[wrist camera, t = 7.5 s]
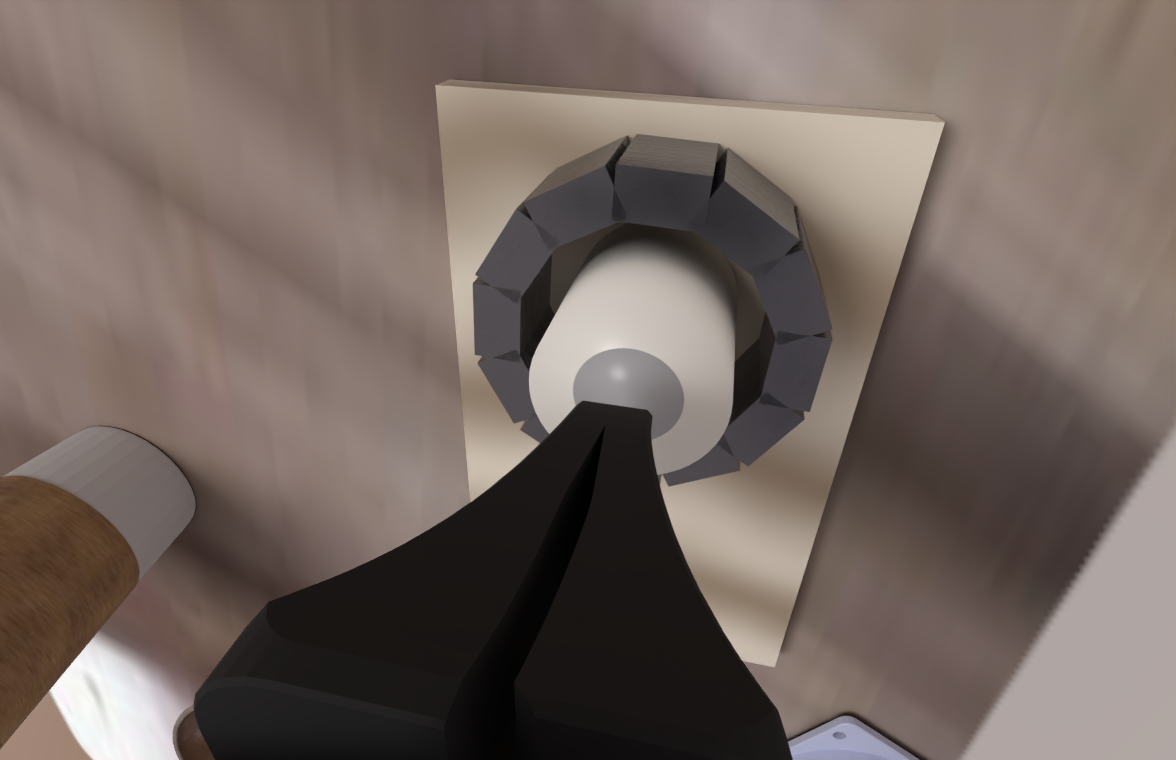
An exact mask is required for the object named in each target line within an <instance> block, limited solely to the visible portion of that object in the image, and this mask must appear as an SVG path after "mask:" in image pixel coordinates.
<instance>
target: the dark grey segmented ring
mask: <svg viewBox="0 0 1176 760" xmlns="http://www.w3.org/2000/svg"><path fill="white" fill-rule="evenodd" d="M718 145H719V143H711V142H702V141H694V140H685V139H677V138H669V137H660V136H652V135H643V134H636V136H635V137H634V138H633V140H632V141H631V143H630V141H629V139H628V136H624V137H622V138H620V139H618V140H616V141H614V142H611V143H609V144H607V145H605V146H603V147H601V148H598V149H596V150H594V151H592V152H590V153H588V154H586V155H583V156H581V157H579V158H577V159H575V160H573V161H570V162H568V163H566V164H564V165H562V166H560V167H557V168H556V169H555V170H554V171H553V172H552V173H551V174H549V175H548V176H547V177H546V178H545V179H544V181H543V182H542V183H541V184H540V185H539V186H538V187H537V188H536V189H535V190H534V191H533V192H532V193H531V194H530V195H529V196H528V197H527V198H526V199H525V200H524V201H523V202H522V203H521V204H520V205H519V206H518V207H517V208H516V210H515V211H514V213H513V214H512V216H511V218H510V219H509V221H508V222H507V224H506V226H505V227H504V229H503V230H502V232H501V234H500V235H499V237H498V238H497V240H496V242H495V243H494V245H493V246H492V248H491V250H490V251H489V253H488V254H487V256H486V258H485V259H484V261H483V262H482V264H481V266H480V267H479V269H478V270H477V272H476V274H475V275H476V276H477V277H478V278H477V279H476V280H475V281H474V282H473V316H474V349H475V355H478V356H482V357H481V358H480V360H479V361H478V363H477V364H478V365H479V367H480V369H481V370H482V372H483V373H484V375H485V377H486V378H487V380H488V382H489V383H490V385H491V387H492V388H493V390H494V392H495V393H496V395H497V397H498V398H499V400H500V401H501V403H502V405H503V406H504V408H505V410H506V411H507V413H508V415H509V416H510V418H511V420H512V421H513V423H514V424H515V423H518V422H521V421H524V423H523V425H522V427H521V429H520V430H521V431H522V432H524V433H525V434H527V435H528V436H530V437H531V438H533V439H534V440H536V441H537V442H539V443H541V442H542V441H543V440H544V439H545V438H546V437H547V436H548V435H549V433H548V432H547V431H546V429H545V428H544V426H543V425H542V423H541V422H540V420H539V418H538V416H537V414H536V412H535V409H534V407H533V404H532V401H531V396H530V391H529V371H530V366H531V362H532V358H533V356H534V354H535V351H536V349H537V347H538V345H539V343H540V342H541V340H542V338H543V336H544V334H545V332H546V331H547V329H548V327H549V325H550V323H551V321H552V320H553V318H554V316H555V314H554V312H553V310H552V308H551V307H550V289H551V265H552V253H553V251H554V250H555V248H557V247H559V246H562V245H564V244H566V243H569V242H571V241H574V240H576V239H579V238H581V237H584V236H586V235H589V234H591V233H593V232H596V231H598V230H601V229H603V228H606V227H608V226H611V225H613V224H615V223H618V222H626V223H633V224H640V225H648V226H655V227H662V228H670V229H677V230H684V231H691V232H695V233H696V234H698V235H699V236H700V237H702V238H703V239H704V240H706V241H707V242H708V243H709V244H711V245H712V246H713V247H715V248H716V249H717V250H719V251H720V252H721V253H723V254H724V255H725V256H727V257H728V258H729V259H730V260H732V261H733V262H734V263H736V264H737V265H738V266H740V267H741V268H742V269H744V270H745V271H746V272H748V273H749V274H750V275H751V276H753V279H754V281H755V284H756V287H757V289H758V292H759V295H760V297H761V300H762V303H763V305H764V308H765V316H764V320H763V324H762V328H761V332H760V336H759V339H758V340H757V341H756V342H755V343H754V344H753V345H752V346H750V347H749V348H748V349H747V350H746V351H745V352H744V353H743V354H742V355H741V356H740V357H739V358H738V359H737V360H736V361H735V363H734V386H733V405H732V412H731V416H730V420H729V423H728V426H727V428H726V430H725V432H724V434H723V435H722V437H721V438H720V440H719V441H718V443H717V444H716V445H715V446H714V447H713V448H712V449H711V450H710V451H709V452H708V453H707V454H706V455H704V456H703V457H702V458H701V459H699V460H697V461H696V462H694V463H692V464H691V465H689V466H686V467H684V468H682V469H679V470H676V471H673V472H669V473H665V474H659V475H658V479H659V483H661V477H662V475H663V477H664V479H665V481H666V483H667V485H668V486H669V487H670V486H674V485H679V484H683V483H687V482H692V481H696V480H701V479H705V478H710V477H714V476H718V475H723V474H727V473H732V472H736V471H740V461H741V462H742V463H744V464H745V465H746V466H748V467H749V466H750V465H751V464H752V463H753V462H755V461H756V460H757V459H758V458H759V457H760V456H762V455H763V454H764V453H765V452H766V451H768V450H769V449H770V448H771V447H772V446H774V445H775V444H776V443H777V442H778V441H780V440H781V439H782V438H783V437H784V436H786V435H787V434H788V433H789V432H790V431H792V430H793V429H794V428H795V427H796V426H798V425H799V424H800V423H801V422H802V421H804V420H805V418H804V411H806V412H810V410H811V407H812V404H813V400H814V397H815V394H816V391H817V388H818V384H819V381H820V378H821V375H822V372H823V368H824V365H825V362H826V359H827V356H828V353H829V349H830V346H831V343H832V340H833V339H832V334H831V330H833V329H832V325H831V320H830V316H829V312H828V308H827V303H826V299H825V295H824V291H823V286H822V282H821V278H820V274H819V271H818V268H817V265H816V262H815V259H814V256H813V253H812V250H811V247H810V244H809V241H808V238H807V235H806V232H805V228H804V225H803V222H802V219H801V216H800V213H799V210H798V207H797V206H795V207H793V203H792V198H791V197H790V196H789V195H787V194H786V193H785V192H784V191H782V190H781V189H780V188H779V187H777V186H776V185H775V184H774V183H772V182H771V181H770V180H769V179H767V178H766V177H765V176H764V175H762V174H761V173H760V172H758V171H757V170H756V169H755V168H753V167H752V166H751V165H750V164H748V163H747V162H746V161H745V160H743V159H742V158H741V157H740V156H738V155H737V154H736V153H735V152H733V151H732V150H731V149H730V148H727V149H726V151H725V152H724V153H723V154H722V156H721V157H720V158H719V159H718V161H717V162H716V157H717V151H718Z"/></svg>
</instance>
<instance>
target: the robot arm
mask: <svg viewBox="0 0 1176 760" xmlns="http://www.w3.org/2000/svg"><path fill="white" fill-rule="evenodd" d="M652 419H653V416H652V415H651V413H650V412H649V411H648V410H645V409H638V408H632V407H625V406H618V405H611V404H604V403H597V402H591V401H584V400H583V401H581V402H580V403H578V404H577V405H576V406H575V407H574V408H573V409H572V411H571V412H570V413H569V414H568V415H567V416H566V417H565V418H564V419H563V420H562V422H561V423H560V424H559V425H558V426H557V427H556V428H555V429H554V430H553V431H552V432H551V433H550V434H549V435H548V436H547V437H546V438H545V439H544V440H543V441H542V442H541V443H540V444H539V445H538V446H537V447H536V448H535V449H534V450H533V451H532V452H530V453H529V454H528V455H527V456H526V457H525V458H524V459H523V460H522V461H521V462H520V463H519V464H518V465H516V466H515V467H514V468H513V469H512V470H510V471H509V472H508V473H507V474H506V475H504V476H503V477H502V478H501V479H500V480H498V481H497V482H496V483H495V484H494V485H492V486H491V487H490V488H489V489H487V490H486V491H485V492H484V493H482V494H481V495H480V496H478V497H477V498H476V499H474V500H473V501H472V502H470V503H469V504H467V505H466V506H464V507H463V508H462V509H460V510H459V511H457V512H456V513H454V514H453V515H451V516H450V517H448V518H447V519H445V520H444V521H442V522H440V523H439V524H437V525H436V526H434V527H432V528H431V529H429V530H427V531H426V532H424V533H422V534H420V535H419V536H417V537H415V538H413V539H412V540H410V541H408V542H407V543H405V544H403V545H401V546H399V547H397V548H395V549H393V550H391V551H389V552H387V553H385V554H383V555H381V556H379V557H377V558H375V559H373V560H371V561H369V562H367V563H365V564H362V565H360V566H358V567H356V568H354V569H352V570H349V571H347V572H345V573H342V574H340V575H338V576H335V577H333V578H331V579H328V580H325V581H323V582H320V583H318V584H315V585H312V586H310V587H307V588H305V589H302V590H299V591H297V592H294V593H292V594H289V595H286V596H284V597H281V598H278V599H275V600H272V601H270V602H268V603H267V604H266V606H265V607H264V608H263V609H262V610H261V611H260V612H259V614H258V615H257V616H256V617H255V618H254V619H253V620H252V621H251V622H250V623H249V625H248V626H247V627H246V628H245V629H244V631H243V632H242V633H241V635H240V636H239V637H238V638H237V640H236V641H235V642H234V644H233V645H232V646H231V648H230V649H229V650H228V652H227V653H226V654H225V656H224V657H223V658H222V660H221V661H220V662H219V664H218V665H217V666H216V668H215V669H214V670H213V672H212V673H211V674H210V675H209V677H208V678H207V679H206V681H205V682H204V683H203V685H202V686H201V687H200V689H199V690H198V691H197V693H196V694H195V700H194V707H193V708H194V714H195V718H196V721H197V724H198V727H199V730H200V732H201V734H202V736H203V738H204V739H205V741H206V743H207V745H208V747H209V749H210V751H211V753H212V755H213V757H214V759H215V760H919V759H918V758H916V757H915V756H913V755H912V754H910V753H908V752H907V751H905V750H904V749H902V748H901V747H899V746H898V745H896V744H895V743H893V742H891V741H890V740H888V739H887V738H885V737H884V736H882V735H881V734H879V733H878V732H876V731H874V730H873V729H871V728H870V727H868V726H867V725H865V724H864V723H862V722H860V721H859V720H857V719H856V718H854V717H851V716H841V717H838V718H836V719H834V720H832V721H830V722H828V723H826V724H824V725H822V726H820V727H818V728H815V729H813V730H811V731H809V732H807V733H805V734H803V735H801V736H799V737H797V738H795V739H793V740H790V741H787V737H786V734H785V731H784V728H783V725H782V721H781V718H780V715H779V712H778V710H777V708H776V707H775V706H774V704H773V703H772V702H771V700H770V699H769V698H768V696H767V695H766V693H765V692H764V691H763V689H762V688H761V687H760V685H759V684H758V683H757V681H756V680H755V678H754V677H753V675H752V674H751V673H750V671H749V670H748V668H747V667H746V665H745V664H744V663H743V661H742V660H741V658H740V656H739V655H738V653H737V652H736V650H735V649H734V647H733V646H732V644H731V642H730V641H729V639H728V638H727V636H726V635H725V633H724V631H723V630H722V628H721V626H720V624H719V623H718V621H717V619H716V617H715V615H714V614H713V612H712V610H711V608H710V606H709V605H708V603H707V601H706V599H705V598H704V596H703V594H702V592H701V590H700V588H699V587H698V584H697V582H696V580H695V578H694V576H693V574H692V572H691V570H690V568H689V566H688V563H687V561H686V559H685V556H684V554H683V552H682V549H681V547H680V545H679V542H678V540H677V537H676V535H675V532H674V529H673V526H672V524H671V521H670V518H669V515H668V511H667V508H666V505H665V502H664V499H663V495H662V492H661V488H660V483H659V479H658V475H657V471H656V467H655V461H654V456H653V448H652V439H651V428H652Z"/></svg>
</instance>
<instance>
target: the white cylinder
mask: <svg viewBox="0 0 1176 760" xmlns="http://www.w3.org/2000/svg"><path fill="white" fill-rule="evenodd" d="M736 317H737V285H736V279H735V276H734V273H733V270H732V268H731V266H730V264H729V261H728V260H727V258H726V257H725V255H724V254H723V253H721V252H720V251H719V250H717V249H716V248H715V247H713V246H712V245H711V244H709V243H708V242H707V241H706V240H704V239H703V238H702V237H700V236H699V235H698V234H696V233H695V232H691V231H684V230H677V229H670V228H662V227H655V226H648V225H640V224H633V223H629V224H626V225H623V226H621V227H619V228H617V229H615V230H613V231H612V232H610V233H609V234H607V235H606V236H604V237H603V238H602V239H601V240H600V241H599V242H598V243H597V244H596V245H595V246H594V247H593V249H592V250H591V251H590V253H589V255H588V256H587V258H586V259H585V261H584V263H583V265H582V267H581V269H580V270H579V272H578V274H577V276H576V278H575V280H574V281H573V283H572V285H571V287H570V289H569V290H568V292H567V294H566V296H565V298H564V300H563V301H562V303H561V305H560V307H559V309H558V311H557V312H556V314H555V316H554V318H553V320H552V321H551V323H550V325H549V327H548V329H547V331H546V332H545V334H544V336H543V338H542V340H541V342H540V343H539V345H538V347H537V349H536V351H535V354H534V356H533V358H532V362H531V366H530V371H529V391H530V396H531V401H532V404H533V407H534V409H535V412H536V414H537V416H538V418H539V420H540V422H541V423H542V425H543V426H544V428H545V429H546V431H547V432H548V433H549V434H550V433H551V432H552V431H553V430H554V429H555V428H556V427H557V426H558V425H559V424H560V423H561V422H562V420H563V419H564V418H565V417H566V416H567V415H568V414H569V413H570V412H571V411H572V409H573V408H574V407H575V406H576V405H577V404H578V403H580V402H581V401H583V400H584V401H591V402H597V403H604V404H611V405H618V406H625V407H632V408H638V409H645V410H648V411H649V412H650V413H651V415H652V416H653V419H652V428H651V439H652V448H653V456H654V461H655V467H656V471H657V475H659V474H665V473H669V472H673V471H676V470H679V469H682V468H684V467H686V466H689V465H691V464H692V463H694V462H696V461H697V460H699V459H701V458H702V457H703V456H704V455H706V454H707V453H708V452H709V451H710V450H711V449H712V448H713V447H714V446H715V445H716V444H717V443H718V441H719V440H720V438H721V437H722V435H723V434H724V432H725V430H726V428H727V426H728V423H729V420H730V416H731V412H732V405H733V386H734V363H735V340H736Z"/></svg>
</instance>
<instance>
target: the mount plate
mask: <svg viewBox="0 0 1176 760" xmlns="http://www.w3.org/2000/svg"><path fill="white" fill-rule="evenodd" d="M435 86H436V98H437V110H438V122H439V134H440V146H441V158H442V170H443V182H444V194H445V206H446V217H447V229H448V241H449V253H450V265H451V277H452V289H453V301H454V313H455V325H456V337H457V349H458V360H459V372H460V384H461V396H462V408H463V420H464V432H465V444H466V456H467V468H468V480H469V491H470V502H472V501H473V500H474V499H476V498H477V497H478V496H480V495H481V494H482V493H484V492H485V491H486V490H487V489H489V488H490V487H491V486H492V485H494V484H495V483H496V482H497V481H498V480H500V479H501V478H502V477H503V476H504V475H506V474H507V473H508V472H509V471H510V470H512V469H513V468H514V467H515V466H516V465H518V464H519V463H520V462H521V461H522V460H523V459H524V458H525V457H526V456H527V455H528V454H529V453H530V452H532V451H533V450H534V449H535V448H536V447H537V446H538V445H539V444H540V443H539V442H537V441H536V440H534V439H533V438H531V437H530V436H528V435H527V434H525V433H524V432H522V431H521V430H520V429H521V427H522V425H523V423H524V421H521V422H518V423H515V424H514V423H513V421H512V420H511V418H510V416H509V415H508V413H507V411H506V410H505V408H504V406H503V405H502V403H501V401H500V400H499V398H498V397H497V395H496V393H495V392H494V390H493V388H492V387H491V385H490V383H489V382H488V380H487V378H486V377H485V375H484V373H483V372H482V370H481V369H480V367H479V365H478V364H477V363H478V361H479V360H480V358H481V357H482V356H478V355H475V349H474V316H473V282H474V281H475V280H476V279H477V278H478V277H477V276H476V275H475V274H476V272H477V270H478V269H479V267H480V266H481V264H482V262H483V261H484V259H485V258H486V256H487V254H488V253H489V251H490V250H491V248H492V246H493V245H494V243H495V242H496V240H497V238H498V237H499V235H500V234H501V232H502V230H503V229H504V227H505V226H506V224H507V222H508V221H509V219H510V218H511V216H512V214H513V213H514V211H515V210H516V208H517V207H518V206H519V205H520V204H521V203H522V202H523V201H524V200H525V199H526V198H527V197H528V196H529V195H530V194H531V193H532V192H533V191H534V190H535V189H536V188H537V187H538V186H539V185H540V184H541V183H542V182H543V181H544V179H545V178H546V177H547V176H548V175H549V174H551V173H552V172H553V171H554V170H555V169H556V168H557V167H560V166H562V165H564V164H566V163H568V162H570V161H573V160H575V159H577V158H579V157H581V156H583V155H586V154H588V153H590V152H592V151H594V150H596V149H598V148H601V147H603V146H605V145H607V144H609V143H611V142H614V141H616V140H618V139H620V138H622V137H624V136H628V139H629V141H630V143H631V141H632V140H633V138H634V137H635V136H636V134H643V135H652V136H660V137H669V138H677V139H685V140H694V141H702V142H711V143H719V145H718V151H717V157H716V162H717V161H718V159H719V158H720V157H721V156H722V154H723V153H724V152H725V151H726V149H727V148H730V149H731V150H732V151H733V152H735V153H736V154H737V155H738V156H740V157H741V158H742V159H743V160H745V161H746V162H747V163H748V164H750V165H751V166H752V167H753V168H755V169H756V170H757V171H758V172H760V173H761V174H762V175H764V176H765V177H766V178H767V179H769V180H770V181H771V182H772V183H774V184H775V185H776V186H777V187H779V188H780V189H781V190H782V191H784V192H785V193H786V194H787V195H789V196H790V197H791V198H792V203H793V207H795V206H797V207H798V210H799V213H800V216H801V219H802V222H803V225H804V228H805V232H806V235H807V238H808V241H809V244H810V247H811V250H812V253H813V256H814V259H815V262H816V265H817V268H818V271H819V274H820V278H821V282H822V286H823V291H824V295H825V299H826V303H827V308H828V312H829V316H830V320H831V325H832V329H833V330H831V334H832V339H833V340H832V343H831V346H830V349H829V353H828V356H827V359H826V362H825V365H824V368H823V372H822V375H821V378H820V381H819V384H818V388H817V391H816V394H815V397H814V400H813V404H812V407H811V410H810V412H806V411H804V418H805V420H804V421H802V422H801V423H800V424H799V425H798V426H796V427H795V428H794V429H793V430H792V431H790V432H789V433H788V434H787V435H786V436H784V437H783V438H782V439H781V440H780V441H778V442H777V443H776V444H775V445H774V446H772V447H771V448H770V449H769V450H768V451H766V452H765V453H764V454H763V455H762V456H760V457H759V458H758V459H757V460H756V461H755V462H753V463H752V464H751V465H750V466H749V467H748V466H746V465H745V464H744V463H742V462H741V461H740V471H736V472H732V473H727V474H723V475H718V476H714V477H710V478H705V479H701V480H696V481H692V482H687V483H683V484H679V485H674V486H670V487H669V486H668V485H667V483H666V481H665V479H664V477H663V475H662V477H661V483H660V488H661V492H662V495H663V499H664V502H665V505H666V508H667V511H668V515H669V518H670V521H671V524H672V526H673V529H674V532H675V535H676V537H677V540H678V542H679V545H680V547H681V549H682V552H683V554H684V556H685V559H686V561H687V563H688V566H689V568H690V570H691V572H692V574H693V576H694V578H695V580H696V582H697V584H698V587H699V588H700V590H701V592H702V594H703V596H704V598H705V599H706V601H707V603H708V605H709V606H710V608H711V610H712V612H713V614H714V615H715V617H716V619H717V621H718V623H719V624H720V626H721V628H722V630H723V631H724V633H725V635H726V636H727V638H728V639H729V641H730V642H731V644H732V646H733V647H734V649H735V650H736V652H737V653H738V655H739V656H740V658H741V660H742V661H746V662H751V663H756V664H761V665H766V666H771V667H775V664H776V661H777V658H778V655H779V652H780V648H781V645H782V642H783V639H784V636H785V632H786V629H787V626H788V623H789V620H790V616H791V613H792V610H793V607H794V604H795V600H796V597H797V594H798V591H799V588H800V584H801V581H802V578H803V575H804V572H805V568H806V565H807V562H808V559H809V556H810V552H811V549H812V546H813V543H814V540H815V536H816V533H817V530H818V527H819V524H820V520H821V517H822V514H823V511H824V508H825V504H826V501H827V498H828V495H829V492H830V488H831V485H832V482H833V479H834V476H835V472H836V469H837V466H838V463H839V460H840V456H841V453H842V450H843V447H844V444H845V441H846V437H847V434H848V431H849V428H850V425H851V421H852V418H853V415H854V412H855V409H856V405H857V402H858V399H859V396H860V393H861V389H862V386H863V383H864V380H865V377H866V373H867V370H868V367H869V364H870V361H871V357H872V354H873V351H874V348H875V345H876V341H877V338H878V335H879V332H880V329H881V325H882V322H883V319H884V316H885V313H886V309H887V306H888V303H889V300H890V297H891V293H892V290H893V287H894V284H895V281H896V277H897V274H898V271H899V268H900V265H901V261H902V258H903V255H904V252H905V249H906V245H907V242H908V239H909V236H910V233H911V229H912V226H913V223H914V220H915V217H916V213H917V210H918V207H919V204H920V201H921V197H922V194H923V191H924V188H925V185H926V181H927V178H928V175H929V172H930V169H931V165H932V162H933V159H934V156H935V153H936V149H937V146H938V143H939V140H940V137H941V133H942V130H943V127H944V124H945V122H944V121H942V120H941V119H940V118H938V117H937V116H936V115H935V114H924V113H910V112H896V111H883V110H869V109H855V108H841V107H827V106H813V105H799V104H785V103H771V102H757V101H743V100H729V99H715V98H701V97H688V96H674V95H660V94H646V93H632V92H618V91H604V90H590V89H576V88H562V87H548V86H534V85H520V84H507V83H493V82H479V81H465V80H451V79H450V80H448V81H445V82H442V83H440V84H437V85H435ZM626 224H629V223H626V222H618V223H615V224H613V225H611V226H608V227H606V228H603V229H601V230H598V231H596V232H593V233H591V234H589V235H586V236H584V237H581V238H579V239H576V240H574V241H571V242H569V243H566V244H564V245H562V246H559V247H557V248H555V250H554V251H553V253H552V265H551V289H550V307H551V308H552V310H553V312H554V314H556V312H557V311H558V309H559V307H560V305H561V303H562V301H563V300H564V298H565V296H566V294H567V292H568V290H569V289H570V287H571V285H572V283H573V281H574V280H575V278H576V276H577V274H578V272H579V270H580V269H581V267H582V265H583V263H584V261H585V259H586V258H587V256H588V255H589V253H590V251H591V250H592V249H593V247H594V246H595V245H596V244H597V243H598V242H599V241H600V240H601V239H602V238H603V237H604V236H606V235H607V234H609V233H610V232H612V231H613V230H615V229H617V228H619V227H621V226H623V225H626ZM725 257H726V258H727V260H728V261H729V264H730V266H731V268H732V270H733V273H734V276H735V279H736V285H737V317H736V340H735V361H736V360H737V359H738V358H739V357H740V356H741V355H742V354H743V353H744V352H745V351H746V350H747V349H748V348H749V347H750V346H752V345H753V344H754V343H755V342H756V341H757V340H758V339H759V336H760V332H761V328H762V324H763V320H764V316H765V308H764V305H763V303H762V300H761V297H760V295H759V292H758V289H757V287H756V284H755V281H754V279H753V276H751V275H750V274H749V273H748V272H746V271H745V270H744V269H742V268H741V267H740V266H738V265H737V264H736V263H734V262H733V261H732V260H730V259H729V258H728V257H727V256H725Z"/></svg>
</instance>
